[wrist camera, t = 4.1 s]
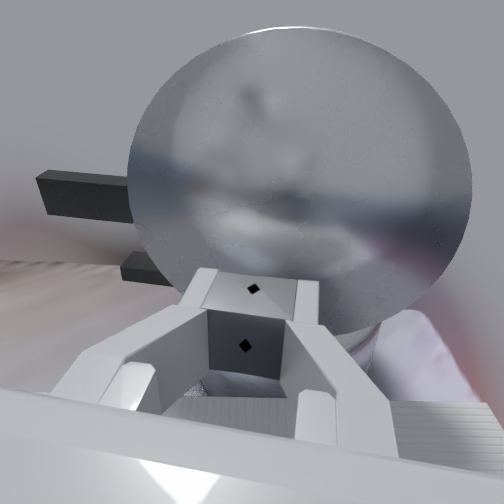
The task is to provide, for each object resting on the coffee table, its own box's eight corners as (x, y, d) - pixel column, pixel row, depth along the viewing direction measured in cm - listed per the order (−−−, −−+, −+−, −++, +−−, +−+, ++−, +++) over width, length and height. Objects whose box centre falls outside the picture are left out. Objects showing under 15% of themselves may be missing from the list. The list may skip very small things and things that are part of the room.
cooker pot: (377, 461, 30) (415, 355, 24) (91, 409, 34) (59, 305, 27) (359, 310, 47) (379, 224, 40) (167, 286, 50) (159, 202, 44)
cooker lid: (411, 342, 25) (415, 356, 24) (87, 297, 28) (79, 308, 27) (530, 33, 15) (544, 36, 14) (0, 15, 18) (-19, 16, 17)
